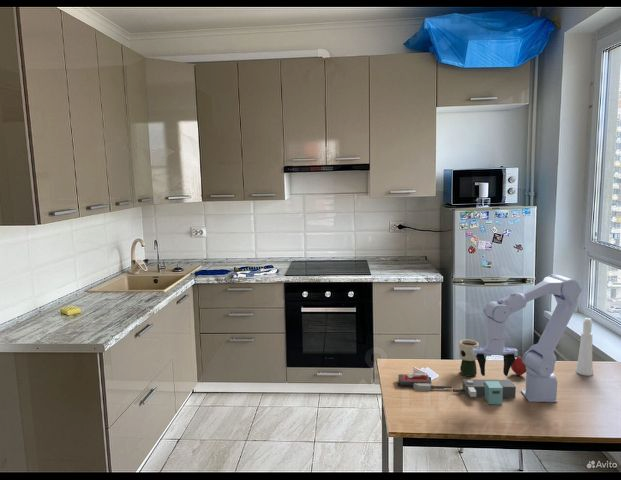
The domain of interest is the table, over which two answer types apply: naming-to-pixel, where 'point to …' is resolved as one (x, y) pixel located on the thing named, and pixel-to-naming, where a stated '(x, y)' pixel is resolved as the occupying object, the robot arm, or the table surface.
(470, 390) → the block
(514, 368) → the onion
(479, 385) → the power strip
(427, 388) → the walkie-talkie
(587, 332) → the cosmetic bottle
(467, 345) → the character mug
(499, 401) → the charger
